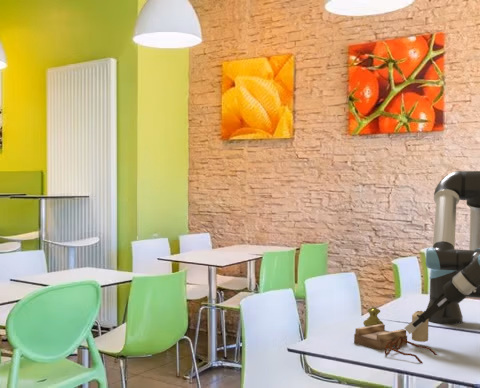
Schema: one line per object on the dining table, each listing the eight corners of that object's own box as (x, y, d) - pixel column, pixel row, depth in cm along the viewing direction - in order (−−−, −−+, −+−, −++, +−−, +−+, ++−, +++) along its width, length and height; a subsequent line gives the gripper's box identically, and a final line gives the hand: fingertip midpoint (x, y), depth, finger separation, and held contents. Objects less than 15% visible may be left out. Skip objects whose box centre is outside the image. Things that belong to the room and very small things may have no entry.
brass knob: (359, 333, 218) (359, 306, 218) (371, 330, 223) (371, 304, 223) (375, 337, 213) (376, 310, 213) (387, 334, 217) (387, 307, 217)
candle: (429, 342, 199) (429, 313, 199) (412, 341, 200) (412, 312, 200) (427, 338, 205) (427, 310, 204) (411, 337, 206) (411, 309, 206)
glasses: (399, 349, 198) (400, 334, 198) (437, 356, 190) (438, 341, 190) (383, 356, 188) (383, 341, 188) (422, 365, 180) (422, 349, 180)
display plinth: (380, 337, 213) (380, 323, 213) (407, 344, 203) (407, 330, 203) (354, 342, 204) (354, 328, 204) (381, 350, 195) (381, 335, 195)
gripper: (463, 300, 187) (410, 343, 195) (471, 291, 203) (422, 331, 211) (446, 282, 189) (395, 325, 197) (455, 275, 205) (408, 315, 214)
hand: (409, 328), depth 204 cm, fingers closed on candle, 5 cm apart
